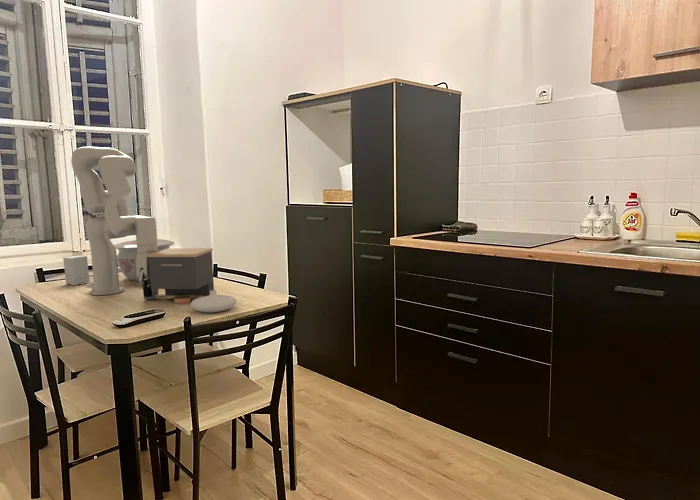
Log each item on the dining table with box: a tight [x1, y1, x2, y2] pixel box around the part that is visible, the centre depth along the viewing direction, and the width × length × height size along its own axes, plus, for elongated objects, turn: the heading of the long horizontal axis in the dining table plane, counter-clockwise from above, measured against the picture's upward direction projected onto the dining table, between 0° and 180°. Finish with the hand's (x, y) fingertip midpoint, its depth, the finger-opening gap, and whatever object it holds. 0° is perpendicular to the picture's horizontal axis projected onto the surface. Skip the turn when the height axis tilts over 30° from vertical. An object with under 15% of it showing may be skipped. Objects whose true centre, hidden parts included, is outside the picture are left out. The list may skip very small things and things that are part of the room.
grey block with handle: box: [143, 278, 203, 300], centre depth 193 cm, size 23×4×8 cm, turn 82°
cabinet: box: [147, 247, 215, 297], centre depth 191 cm, size 19×16×19 cm
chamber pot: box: [113, 238, 175, 282], centre depth 237 cm, size 28×28×21 cm
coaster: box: [173, 296, 192, 305], centre depth 189 cm, size 6×6×2 cm
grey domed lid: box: [190, 289, 237, 313], centre depth 176 cm, size 16×16×7 cm
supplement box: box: [63, 255, 90, 286], centre depth 229 cm, size 7×7×13 cm
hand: (151, 294), depth 195 cm, fingers closed on grey block with handle, 4 cm apart
